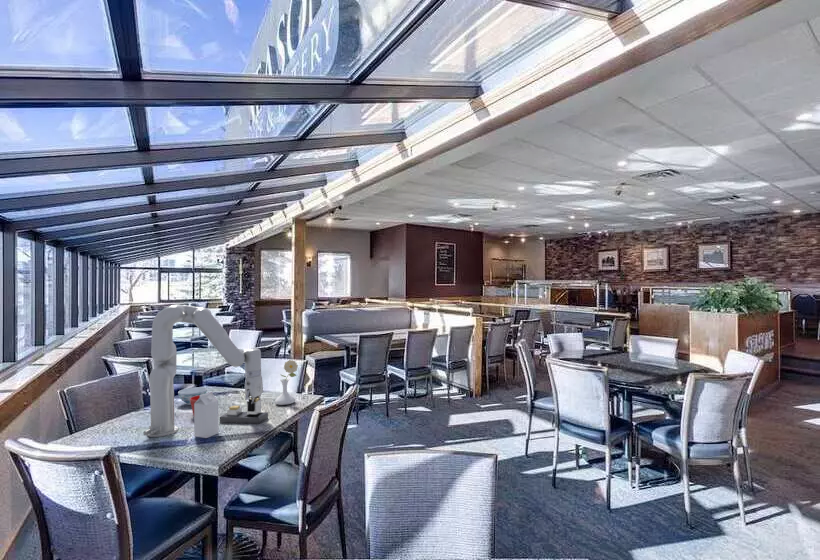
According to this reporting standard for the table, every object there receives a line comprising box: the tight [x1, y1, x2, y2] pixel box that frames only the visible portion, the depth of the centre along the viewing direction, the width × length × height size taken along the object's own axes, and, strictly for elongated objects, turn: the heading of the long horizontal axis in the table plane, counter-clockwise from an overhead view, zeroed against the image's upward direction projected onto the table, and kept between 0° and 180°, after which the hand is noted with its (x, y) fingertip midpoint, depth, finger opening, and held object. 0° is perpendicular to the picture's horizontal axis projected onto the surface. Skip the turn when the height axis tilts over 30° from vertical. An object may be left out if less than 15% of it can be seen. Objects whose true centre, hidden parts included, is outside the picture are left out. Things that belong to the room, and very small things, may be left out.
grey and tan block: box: [246, 398, 262, 414], centre depth 211 cm, size 5×5×7 cm
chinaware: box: [177, 386, 208, 406], centre depth 245 cm, size 15×15×8 cm
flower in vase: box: [274, 359, 299, 406], centre depth 242 cm, size 13×11×25 cm
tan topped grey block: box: [226, 405, 243, 416], centre depth 213 cm, size 5×5×7 cm
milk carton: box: [193, 391, 220, 439], centre depth 192 cm, size 7×7×19 cm
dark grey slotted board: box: [219, 411, 269, 425], centre depth 212 cm, size 9×21×3 cm, turn 82°
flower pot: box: [190, 395, 200, 417], centre depth 222 cm, size 11×11×10 cm
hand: (254, 409), depth 211 cm, fingers closed on grey and tan block, 5 cm apart
